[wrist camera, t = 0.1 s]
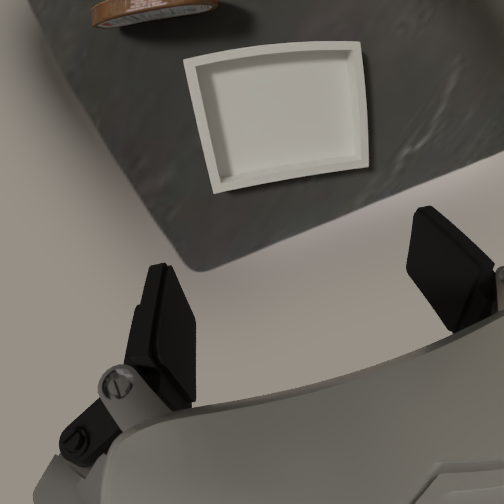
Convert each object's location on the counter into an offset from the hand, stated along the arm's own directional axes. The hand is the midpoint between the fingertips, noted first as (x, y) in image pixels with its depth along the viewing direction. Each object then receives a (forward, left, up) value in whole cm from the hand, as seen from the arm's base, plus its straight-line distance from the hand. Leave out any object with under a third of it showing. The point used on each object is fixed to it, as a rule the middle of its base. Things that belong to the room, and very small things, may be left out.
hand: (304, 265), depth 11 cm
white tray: (-1, +6, -31) cm, 32 cm away
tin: (-18, -7, -31) cm, 37 cm away
